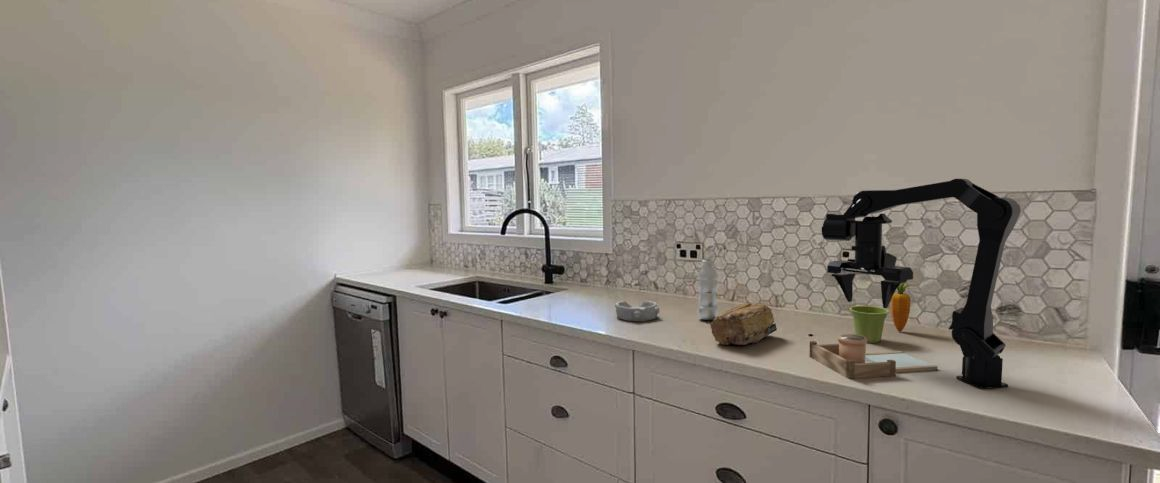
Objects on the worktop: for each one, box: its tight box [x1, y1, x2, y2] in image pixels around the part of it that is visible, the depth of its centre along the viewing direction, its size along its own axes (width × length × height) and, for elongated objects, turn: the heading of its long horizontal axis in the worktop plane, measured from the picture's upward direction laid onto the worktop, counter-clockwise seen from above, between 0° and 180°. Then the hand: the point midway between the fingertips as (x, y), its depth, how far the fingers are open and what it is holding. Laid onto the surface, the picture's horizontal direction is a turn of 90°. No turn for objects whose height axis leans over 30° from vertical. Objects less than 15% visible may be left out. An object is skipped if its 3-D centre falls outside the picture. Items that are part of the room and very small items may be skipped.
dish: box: [614, 300, 661, 322], centre depth 177 cm, size 14×14×5 cm
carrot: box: [890, 282, 911, 333], centre depth 151 cm, size 5×5×15 cm
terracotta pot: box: [837, 333, 868, 364], centre depth 123 cm, size 6×6×7 cm
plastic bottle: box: [696, 258, 719, 321], centre depth 170 cm, size 6×7×20 cm
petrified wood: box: [710, 302, 778, 346], centre depth 147 cm, size 19×13×10 cm
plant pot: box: [849, 305, 890, 344], centre depth 143 cm, size 9×9×9 cm
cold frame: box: [809, 340, 897, 380], centre depth 123 cm, size 16×11×4 cm
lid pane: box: [865, 350, 939, 373], centre depth 124 cm, size 12×11×1 cm
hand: (867, 304), depth 127 cm, fingers open, 9 cm apart
